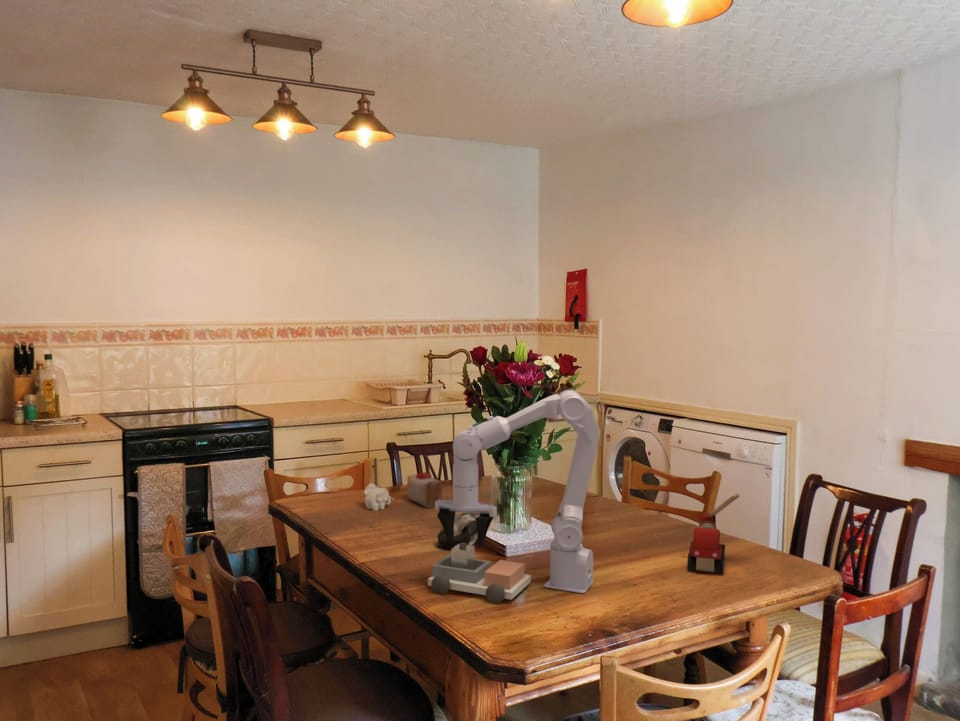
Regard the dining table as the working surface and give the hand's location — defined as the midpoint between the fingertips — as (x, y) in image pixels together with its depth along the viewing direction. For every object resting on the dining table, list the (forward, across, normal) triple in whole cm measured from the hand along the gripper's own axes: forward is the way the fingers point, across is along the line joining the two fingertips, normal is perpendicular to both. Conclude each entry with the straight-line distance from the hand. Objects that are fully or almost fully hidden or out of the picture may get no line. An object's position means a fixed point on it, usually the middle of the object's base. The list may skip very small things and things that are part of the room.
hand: (465, 543), depth 184 cm
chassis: (+9, -4, +1) cm, 10 cm away
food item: (+10, +42, -61) cm, 75 cm away
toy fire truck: (+10, -50, -37) cm, 63 cm away
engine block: (+7, 0, 0) cm, 7 cm away
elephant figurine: (+10, +52, -49) cm, 72 cm away
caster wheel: (+10, +14, -26) cm, 31 cm away
